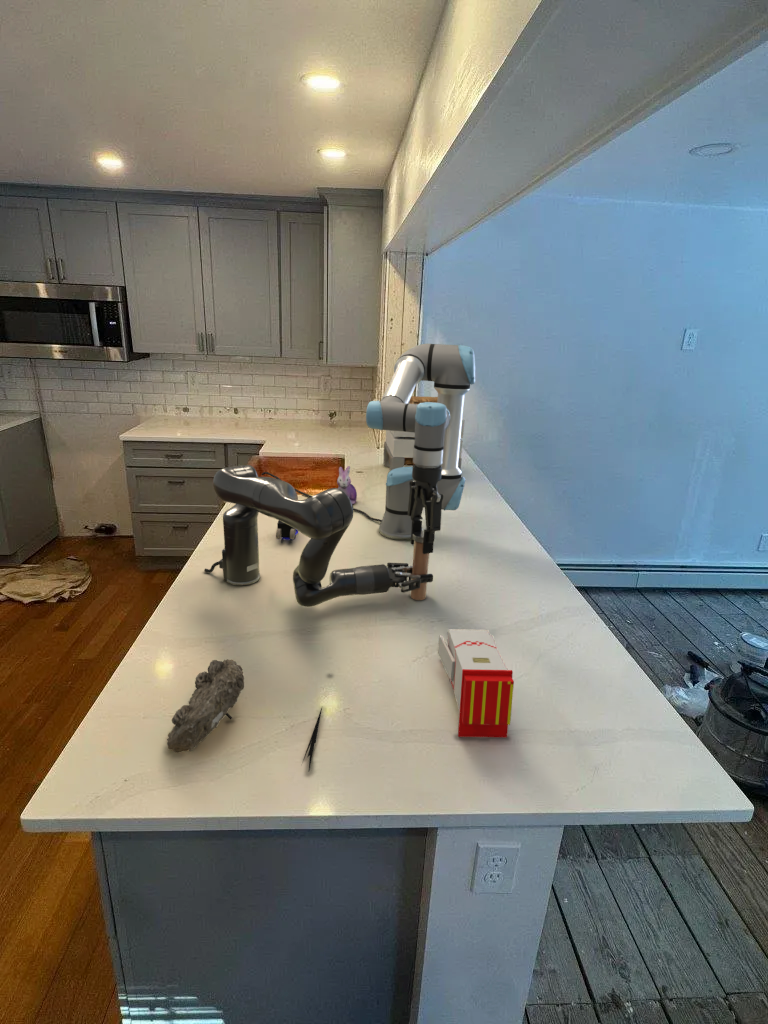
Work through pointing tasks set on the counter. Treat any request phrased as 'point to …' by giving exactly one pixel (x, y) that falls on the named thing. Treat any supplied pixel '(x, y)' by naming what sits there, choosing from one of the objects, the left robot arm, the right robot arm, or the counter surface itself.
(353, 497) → the figurine
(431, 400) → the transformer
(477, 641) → the toy
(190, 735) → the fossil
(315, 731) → the feather
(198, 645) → the counter surface
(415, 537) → the lid
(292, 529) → the black wheeled rover
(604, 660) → the counter surface
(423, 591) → the jar
